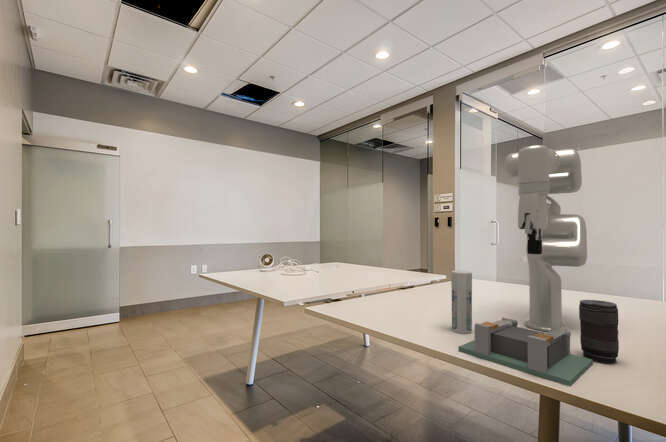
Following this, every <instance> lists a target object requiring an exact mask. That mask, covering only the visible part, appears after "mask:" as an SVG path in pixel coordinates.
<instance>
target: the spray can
mask: <svg viewBox="0 0 666 442" xmlns="http://www.w3.org/2000/svg"><path fill="white" fill-rule="evenodd" d="M450 273H451V275H450V276H451V282H450V283H451V284H450V285H451V286H450V287H451V330H452V332H453V333H456V334H462V335H469V334H471V333H472V331H473V327H472V326H473V325H472V324H473V319H472V318H473V317H472V316H473V272H472V271H469V270H451V272H450Z"/></svg>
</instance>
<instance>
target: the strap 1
mask: <svg viewBox="0 0 666 442" xmlns="http://www.w3.org/2000/svg"><path fill="white" fill-rule="evenodd" d="M501 319H502V318H501ZM479 324H483V325H488V326H490V328H491V333H493V332H496V331H499V330H501V329H504V328H507V327H509V326H512V325H513V322H512V321H507V320H503V319H502V320H496V321H494V322H493V321H492V322H491V321H484V322H480V323H479Z"/></svg>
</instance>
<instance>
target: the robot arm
mask: <svg viewBox="0 0 666 442" xmlns="http://www.w3.org/2000/svg"><path fill="white" fill-rule="evenodd" d="M504 170H505V173H506V175H507V176H508V177H510V178H516V177H518V178H517V179H518V196H519V200H518V207H517V208H518V210H517V212H518V213H517V214H518V215H517V227H518V229H519V230H524V234H526V241H527V242H526V243H527V244H526V247H525V251H526V258H527V263H528V273H529V274H528V275H529V276H528V277H529V319H526V320H524V325H525V326H526V327H527V328H530V329H531V330H532V329H533V330H535V331H539V332H545V333H547V332H550V331H551V328H556V329H561V330H565V331H568V326H567V325H565V324H563V310H562V309H563V308H562V305H563V304H562V296H563V295H562V279H561V276H560V274H559V273H558V272H557V270H555V269H554V268H553V267H556V266H557V267H571V268H572V267H575V268H577V267H583V266H584V265H586V262H587V260H588V239H587V237H588V236H587V224H586V220H585V219H584V217H583V216H581V215H580V214H576V213H575V214H574V213H573V214H572V213H567V214H563V213H561V211H562V210H561V205H560V204H559V203H558V202H557V201H556V200H555V199H554V198H553V197H550V196H549V195H557V194H574V193H576V192H578V191H580V189H581V188H582V184H583V181H582V162H581V157H580V154H579V152H578V151H577V150H576V149H574V148H563V149H551V148H549V147H547V146H546V145H542V144H538V145H528V146H524V147H522V148H521V149H519V151H518V152H513V153H510V154H507V156H506V157H505V161H504Z"/></svg>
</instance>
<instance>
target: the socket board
mask: <svg viewBox="0 0 666 442" xmlns="http://www.w3.org/2000/svg"><path fill="white" fill-rule="evenodd" d="M502 319H503V320H507V321H512V322H513V325H512V326H509V327H507V328H504V329H501V330H499V331H496V332H493V333H491V328H490V326H488V325H483V324H480V323H479V322H476V323H474V339H473V340H471V341H468V342H466V343H465V344H462V345H459V346H458V347H457V349H458V352H461V353H463V354H466V355H470V356H473V357H476V358H480V359H483V360H486V361H489V362H492V363H495V364H499V365H501V366H505V367H508V368H510V369H514V370H517V371H520V372H523V373H527V374H529V375H533V376H536V377H538V378H543V379H545V380H549V381H553V382H556V383H559V384H561V385H564V386H568V387H571V386H572V385H573V384H574V383H575V382H576V381H578V379H579V378H580V377H581V376H583V374H585V373H586V372H587V371H588V370H589V369H590V368H591V367H592V366H593V365H594V361H593V360H592V359H588V358H586V357H584V356H579V355H575V354H572V353H571V331H569V330H567V331H565V330H561V329H556V328H551V331H552V330H555V331H559V332H564V333H566V337H564V338H563V339H561V340H559V341H557V342H556V343H554V344H552V345H550V346H548V347H547V339H543V338H539V337H535V336H534V335H536V334H538V333H540V334H545V333H546V332H544V331H539V330H535V329H533V330H532V329H529V328H523V327H518V320H516V319H513V318H512V319H511V318H507V317H502V318H501V320H502Z"/></svg>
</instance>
